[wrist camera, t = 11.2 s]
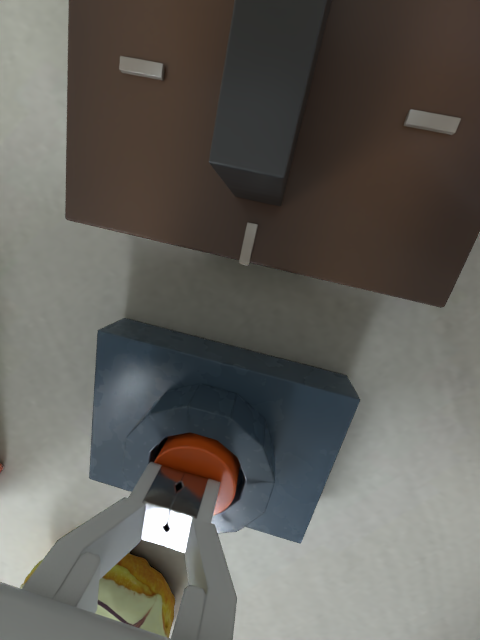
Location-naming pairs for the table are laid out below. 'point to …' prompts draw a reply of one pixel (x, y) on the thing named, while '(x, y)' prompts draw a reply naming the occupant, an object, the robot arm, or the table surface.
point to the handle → (265, 93)
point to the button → (203, 463)
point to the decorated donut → (135, 596)
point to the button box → (220, 419)
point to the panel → (311, 149)
